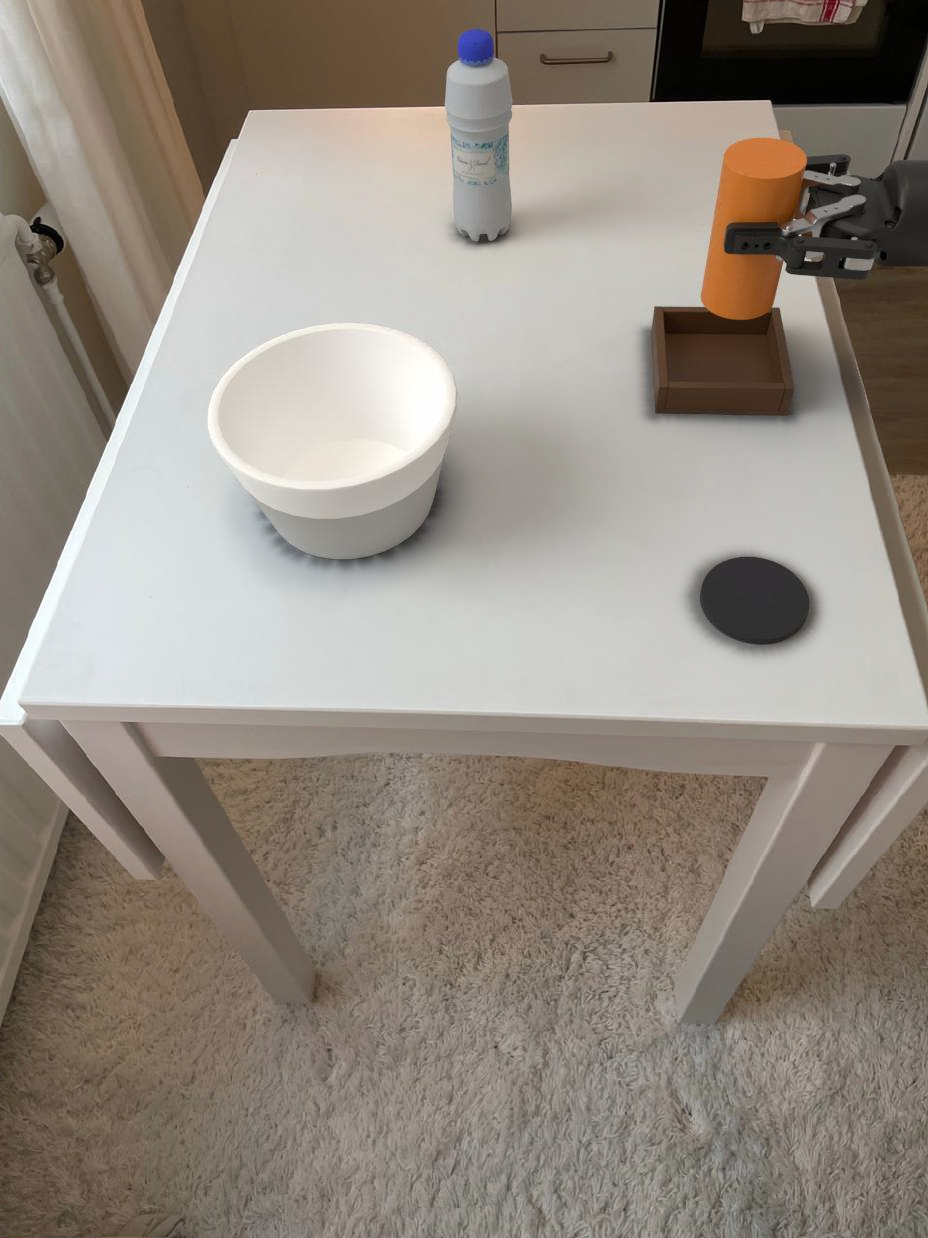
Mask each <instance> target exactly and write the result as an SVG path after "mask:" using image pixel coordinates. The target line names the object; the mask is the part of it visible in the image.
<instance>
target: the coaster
mask: <svg viewBox="0 0 928 1238" xmlns="http://www.w3.org/2000/svg"><path fill="white" fill-rule="evenodd" d="M808 594H809V593H808V591H807V589H806V587H805V586H804V584H803V582H802V581H801V579H800V578H799V577H798V576H797V575H796V574H795V573H794V572H793V571H791V570H790V569H789V568H788V567H785V566H784V565H783V564H780V563H778V562H776V561H773V560H770V559H768V558H763V557H758V556H738V557H732V558H729V559H725V560H723V561H721V562H719V563H717V564H716V565H715V566H714V567H712V568H711V569H710V570H709V571H708V573H707V574H706V575H705V577H704V578H703V581H702V583H701V588H700V592H699V600H700V605H701V608H702V612H703V614H704V615H705V617H706V618H707V619H708V620H709V623H711V625H713V626H714V627H715V628H716V629H717V630H718V631H720V632H721V633H722V634H724V635H726V636H727V637H730V638H732V639H734V640H737V641H740V642H744V643H748V644H755V645H756V644H757V645H767V644H774V643H778V642H781V641H784V640H786V639H788V638H790V637H791V636H793V635H795V634H796V633H797V632H798V631H799V630H800V629H801V628H802V627H803V625H804V623H805V621H806V619H807V616H808V614H809V611H810V610H809V609H810V600H809V595H808Z"/></svg>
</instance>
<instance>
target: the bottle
mask: <svg viewBox="0 0 928 1238" xmlns="http://www.w3.org/2000/svg"><path fill="white" fill-rule="evenodd" d="M457 55H458V60H456V61H454V62H453V63H452V64H451V65H450V66H449V67H447V71H446V81H445V82H446V83H445V85H446V86H445V95H444V96H445V97H444V108H445V111H446V115H445V119H446V122H447V124H448V126H449V130H450V131H449V132H450V147H451V163H452V179H453V180H452V182H453V183H452V212H453V217H454V218H453V219H454V222H455V226H456V228H457V231H458V233H460V235H461V236H463V237H468V236H469V238H470V239H471V241H473V242H479V241H480V237H481V235H487V240H488V241H490V242H491V241H494V240H496V238H498V235H504V234H506V232H507V231H508V230H509V228H510V226H511V225H510V224H511V220H512V210H513V209H512V208H513V205H512V190H511V189H512V188H511V181H510V180H511V179H510V122H511V120H512V118H513V111H512V108H513V102H514V100H513V99H514V98H513V93H512V88H511V87H512V86H511V81H510V74H509V68H508V66H507V64H506V63H505V62H504V60H501V59H500V58H497V57H495V44H494V38H493V36H492V35H491V34H490V32H489V31H487V30H484V29H482V28H481V29H480V28H473V29H468V30H466V31H464V32H463V33H461V34H460V35H459V37H458V41H457Z"/></svg>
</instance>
